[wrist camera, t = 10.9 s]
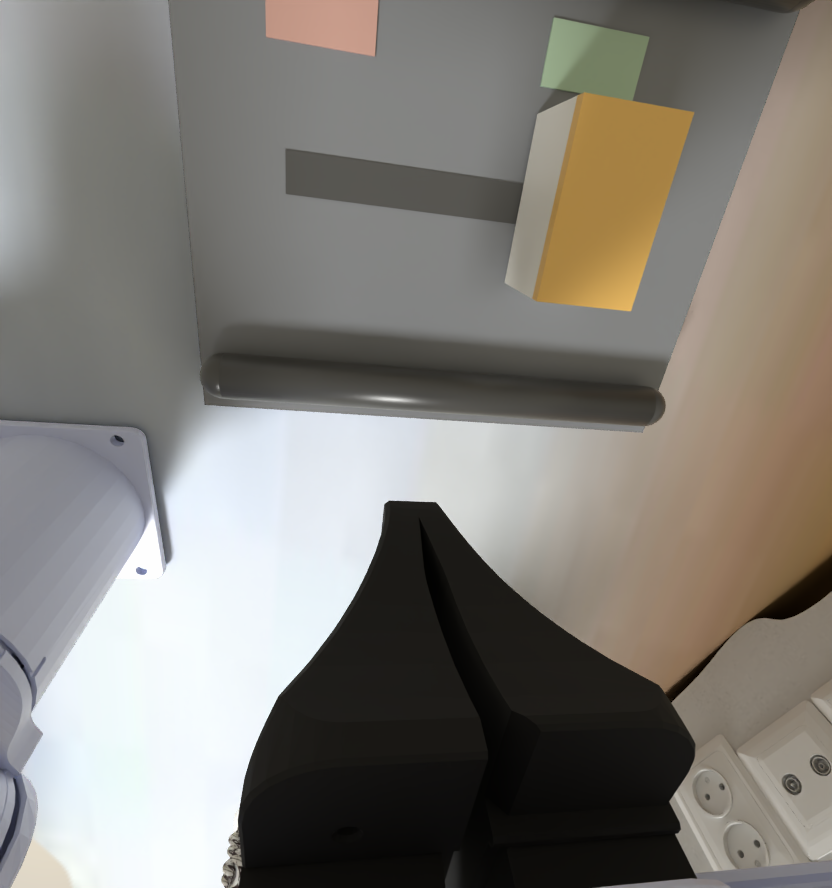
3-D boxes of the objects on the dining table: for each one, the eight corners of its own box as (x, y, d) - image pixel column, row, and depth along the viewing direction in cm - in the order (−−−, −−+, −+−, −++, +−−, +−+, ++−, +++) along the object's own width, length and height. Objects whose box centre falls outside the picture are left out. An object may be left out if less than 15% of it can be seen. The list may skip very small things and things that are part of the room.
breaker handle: (504, 282, 17) (536, 301, 14) (537, 114, 14) (584, 92, 12) (583, 291, 17) (630, 311, 14) (626, 129, 15) (694, 112, 12)
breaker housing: (218, 386, 19) (191, 422, 16) (175, -193, 12) (112, -328, 9) (619, 413, 22) (663, 450, 19) (776, -45, 15) (889, -111, 12)
